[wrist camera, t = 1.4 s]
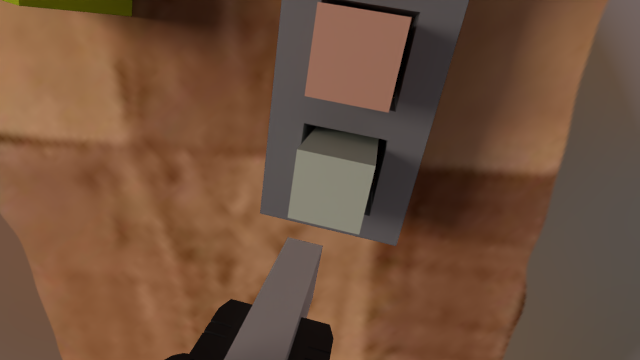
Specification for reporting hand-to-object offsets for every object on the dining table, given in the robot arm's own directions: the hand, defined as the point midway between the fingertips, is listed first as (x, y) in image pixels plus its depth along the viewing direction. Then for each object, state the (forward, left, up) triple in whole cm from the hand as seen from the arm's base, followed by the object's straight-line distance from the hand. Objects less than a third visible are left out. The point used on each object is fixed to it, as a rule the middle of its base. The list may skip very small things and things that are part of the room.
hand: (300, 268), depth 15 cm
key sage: (0, 0, -15) cm, 15 cm away
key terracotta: (-8, 0, -15) cm, 17 cm away
